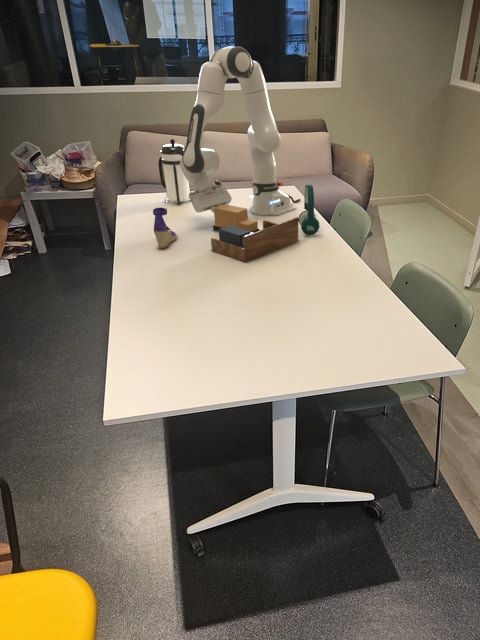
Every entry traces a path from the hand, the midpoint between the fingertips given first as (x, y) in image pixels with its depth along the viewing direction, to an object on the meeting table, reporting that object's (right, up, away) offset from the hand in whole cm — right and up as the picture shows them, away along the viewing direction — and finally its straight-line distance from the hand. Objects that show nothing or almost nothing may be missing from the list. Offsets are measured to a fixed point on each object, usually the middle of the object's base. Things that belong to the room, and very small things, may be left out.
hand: (220, 215), depth 228 cm
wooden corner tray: (+17, -18, -17) cm, 30 cm away
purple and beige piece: (-22, -16, -13) cm, 30 cm away
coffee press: (-28, +20, +38) cm, 51 cm away
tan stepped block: (+7, -8, -3) cm, 11 cm away
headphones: (+40, -8, -2) cm, 41 cm away
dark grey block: (+11, -21, -21) cm, 32 cm away
